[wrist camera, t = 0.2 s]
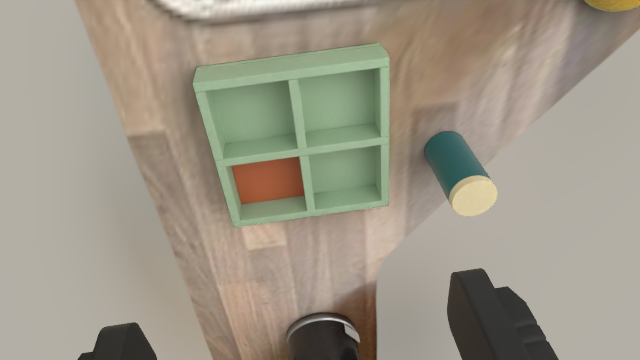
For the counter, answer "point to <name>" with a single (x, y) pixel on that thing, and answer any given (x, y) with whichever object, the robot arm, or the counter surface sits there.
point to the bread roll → (613, 4)
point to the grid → (299, 132)
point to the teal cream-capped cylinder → (460, 174)
